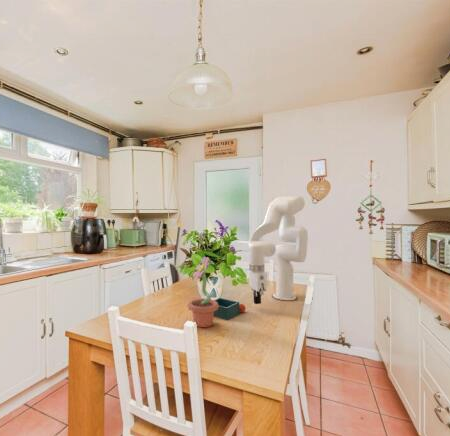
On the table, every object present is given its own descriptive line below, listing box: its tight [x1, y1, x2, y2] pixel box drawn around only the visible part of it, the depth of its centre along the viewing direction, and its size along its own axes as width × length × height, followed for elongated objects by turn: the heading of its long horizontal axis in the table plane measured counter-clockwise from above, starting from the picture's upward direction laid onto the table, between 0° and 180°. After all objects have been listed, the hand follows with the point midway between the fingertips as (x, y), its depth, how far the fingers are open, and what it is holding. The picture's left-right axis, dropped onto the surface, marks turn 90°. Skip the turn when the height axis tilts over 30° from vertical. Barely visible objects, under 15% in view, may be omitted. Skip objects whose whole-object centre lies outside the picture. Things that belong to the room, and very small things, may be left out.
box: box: [213, 297, 240, 321], centre depth 136 cm, size 12×12×6 cm
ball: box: [239, 303, 246, 313], centre depth 138 cm, size 4×4×4 cm
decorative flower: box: [187, 256, 219, 328], centre depth 123 cm, size 15×14×30 cm
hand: (257, 303), depth 141 cm, fingers closed
